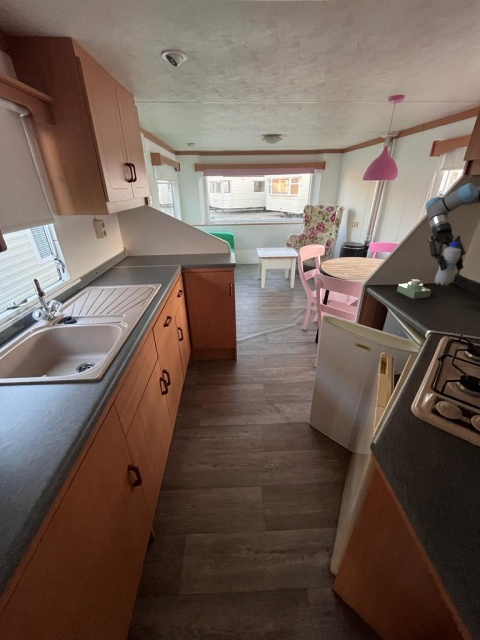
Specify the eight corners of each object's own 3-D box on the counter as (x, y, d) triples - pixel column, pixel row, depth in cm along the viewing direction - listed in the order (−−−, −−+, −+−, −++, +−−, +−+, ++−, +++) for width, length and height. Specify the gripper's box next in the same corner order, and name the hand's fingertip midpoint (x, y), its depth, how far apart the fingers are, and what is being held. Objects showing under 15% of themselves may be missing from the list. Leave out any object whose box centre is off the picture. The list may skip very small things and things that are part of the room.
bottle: (432, 281, 132) (445, 240, 123) (449, 283, 129) (463, 241, 120) (433, 285, 127) (447, 242, 118) (450, 287, 124) (466, 243, 115)
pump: (421, 285, 142) (422, 281, 141) (414, 285, 142) (416, 281, 141) (415, 283, 146) (416, 278, 145) (409, 283, 145) (410, 279, 144)
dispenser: (429, 297, 142) (432, 286, 139) (412, 298, 140) (416, 288, 137) (412, 289, 152) (415, 279, 150) (396, 291, 151) (399, 281, 148)
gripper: (455, 231, 131) (467, 272, 124) (415, 232, 132) (425, 273, 125) (467, 221, 124) (481, 264, 117) (424, 222, 125) (435, 265, 118)
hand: (452, 269), depth 121 cm, fingers closed on bottle, 7 cm apart
